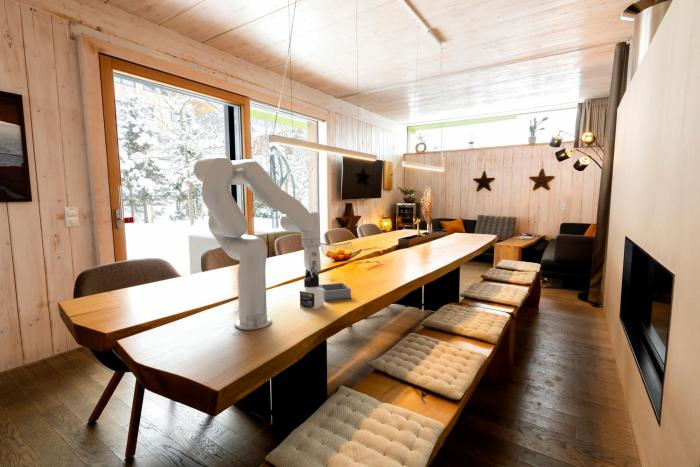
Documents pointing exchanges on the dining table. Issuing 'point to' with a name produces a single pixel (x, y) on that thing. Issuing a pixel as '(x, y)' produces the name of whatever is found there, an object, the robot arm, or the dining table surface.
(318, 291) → the medicine bottle
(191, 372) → the dining table surface
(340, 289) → the grey square tray
